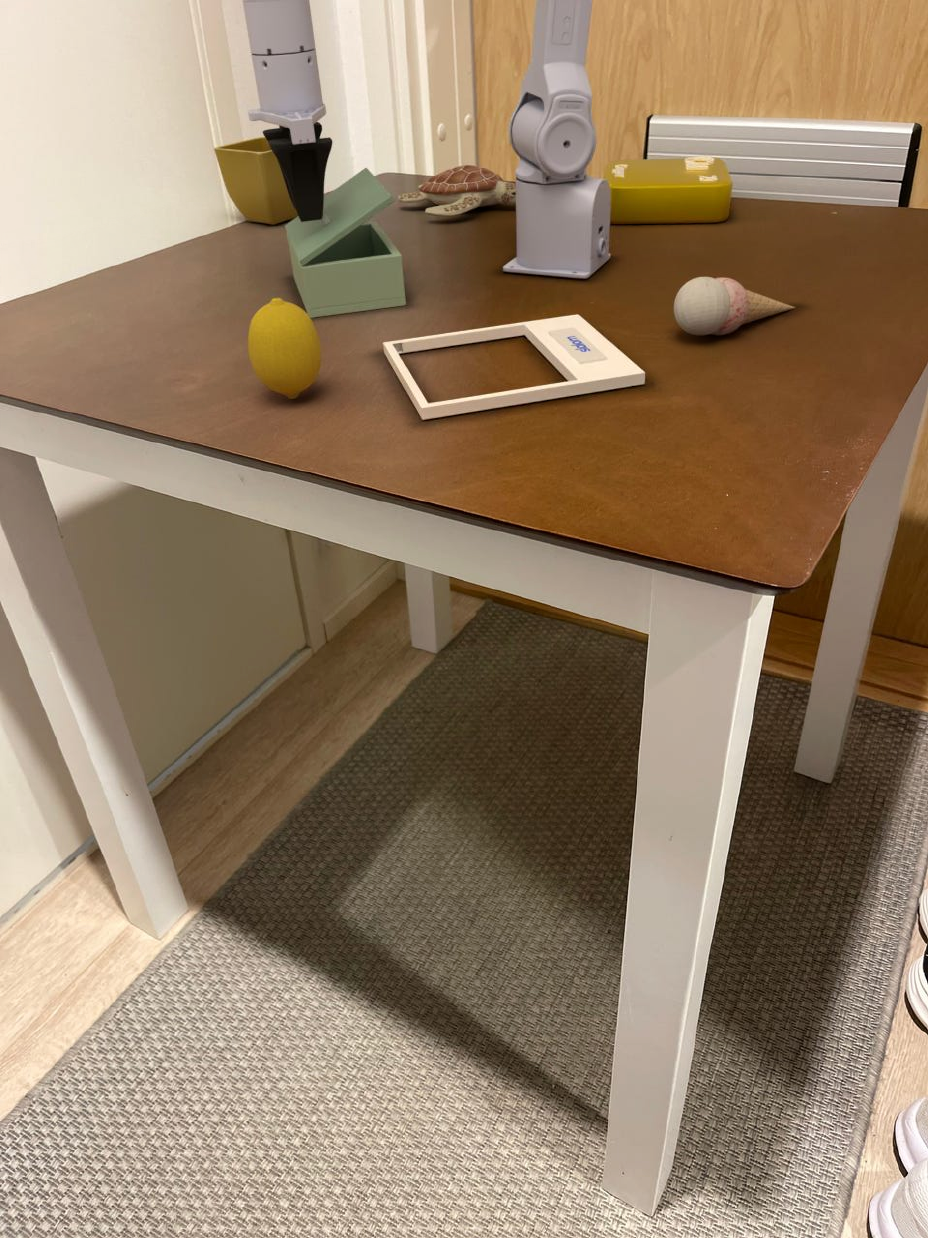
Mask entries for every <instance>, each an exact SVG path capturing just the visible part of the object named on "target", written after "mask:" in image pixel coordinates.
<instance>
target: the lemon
mask: <svg viewBox="0 0 928 1238" xmlns="http://www.w3.org/2000/svg"><path fill="white" fill-rule="evenodd" d="M248 328H249V329H248V335H247V336H248V337H247V338H248V339H247V347H248V348H247V349H248V357H249V360H250V364H251V367H252V369H253V371H254V374H255V375H256V377H257V378H258V380H259V381H260V382H261V383H262V384H263V385H264V386H265V387H267V388H268V389H270V390H271V391H273V392H275V393H278V394H283V395H284V396H285V397H287V398H288V399H291V400H293V399H297V398H298V397H299V396H300V394H301V393H302V391H305V390H307V389H308V388H309V387H311V385H312V384H313V383H314V382H315V381H316V380H317V377H318V376H319V372H320V370H321V367H322V366H321V365H322V346H321V341H320V338H319V335H318V332H317V331H318V330H317V328H316V327H315V324H314V322H313V319H312V318H310V317H309V316H308V314H307V311H306V310H304V309H303V308H301V307H300V306H298V305H296V304H295V303H292V302H288V301H284V300H283V299H282V298H281V297H274V298H272V299H271V300H270V301H269V303H266V304H265V305H263V306H262V307H261V308H259V309H258V310H257V311H256V312H255V314H254V315H253V317H252V319H251V321H250V324H249V327H248Z"/></svg>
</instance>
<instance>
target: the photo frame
mask: <svg viewBox="0 0 928 1238" xmlns="http://www.w3.org/2000/svg"><path fill="white" fill-rule="evenodd" d="M519 336H525V337H526V338H527V340H528V341H530V343H531V344H532V345H533V346H534V347H535V348H536V349H537V350H538V351H539V353H541V354H542V355H543V356H544V357H545V358H546V360H548V362H550V363H551V365H552V366H553V367H554V368H555V369H556V370H557V371H558V372H559V373H560V374H561V375H562V377H564V378H565V380H567V381H563V382H555V383H550V384H543V385H536V386H531V387H524V388H518V389H511V390H505V391H500V392H499V391H498V392H492V393H486V394H485V393H484V394H480V395H473V396H468V397H460V398H455V399H449V400H442V401H441V400H440V401H435V402H428V401H427V399H426V397H425V396H424V394H423V392H422V391H421V389H420V388H419V385H418V384H417V383H416V381H415V379H414V377H413V376H412V374H411V373H410V371H409V369H408V367H407V366H406V364H405V362H404V361H403V359H402V357H401V356H400V354H405V353H411V352H419V351H426V350H433V349H439V348H445V347H451V346H458V345H459V346H460V345H466V344H472V343H479V342H487V341H493V340H500V339H507V338H513V337H519ZM382 345H383V346H382V347H383V353H384V355H385V357H386V359H387V361H388V363H389V364H390V366H391V367H392V370H393V371H394V373H395V375H396V376H397V378H398V380H399V381H400V383H401V385H402V387H403V389H404V390H405V392H406V395H408V398H409V399H410V401H411V402H412V405H413V406H414V408H415V410H416V411H417V413H418V414H419V416H420V419H421V420H422V421H424V420H430V419H436V418H442V417H449V416H454V415H460V414H466V413H473V412H478V411H486V410H492V409H499V408H504V407H509V406H517V405H523V404H529V403H534V402H542V401H547V400H553V399H554V400H555V399H559V398H566V397H572V396H577V395H585V394H591V393H596V392H597V393H599V392H604V391H609V390H615V389H622V388H627V387H628V388H629V387H632V386H634V387H635V386H640V385H645V383H646V372H645V371H644V370H643V369H642V368H640V366H638V365H637V364H636V363H635V362H634V361H632V359H630V358H629V357H628V356H627V355H626V354H624V352H623V351H621V350H620V349H618V348H617V346H616V345H614V344H613V343H612V342H611V341H610V340H608V338H606V337H605V336H604V335H602V334H601V333H600V331H598V330H597V329H596V328H595V327H593V326H592V325H591V324H590V323H589V322H588V321H587V320H586V319H584V318H583V317H582V316H581V315H579V314H571V315H563V316H557V317H551V318H543V319H542V318H541V319H536V320H530V321H522V322H516V323H508V324H501V325H495V326H489V327H481V328H474V329H473V328H472V329H467V330H460V331H453V332H447V333H440V334H439V333H438V334H432V335H425V336H419V337H412V338H404V339H398V340H397V339H396V340H391V341H383V342H382Z"/></svg>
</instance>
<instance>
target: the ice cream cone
mask: <svg viewBox="0 0 928 1238" xmlns="http://www.w3.org/2000/svg"><path fill="white" fill-rule="evenodd" d="M673 302H674V303H673V315H674V318H675V321H676V323H677V325H678V326H679V327H680V328H681V329H682V330H683V331H684V332H686V333H688V334H690V335H694V336H707V335H712V336H725V335H728V334H731V333H733V332H734V331H736V330H738V328H740V327H741V326H742V325H744V324H748V323H752V322H755V321H758V320H760V319H764V318H766V317H769V316H770V317H771V316H775V315H777V314H780V313H784V312H787V311H790V310H793V309H796V307H795V306H792V305H790V304H786V303H784V302H781V301H778V300H775V299H773V298H770V297H767V296H764V295H763V294H759V293H756V292H754V291H751V290H748V289H746V288H745V287H744V286H743V285H742V284H741V283H740V282H738V281H737V280H735V279H733V278H730V277H716V278H713V277H711V276H699V277H695V278H691V280H689V281H687V282H685V284H684V285H682V287H680V289H679V290H678V291H677V293H676V296H675V299H674V301H673Z"/></svg>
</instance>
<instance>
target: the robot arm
mask: <svg viewBox="0 0 928 1238" xmlns="http://www.w3.org/2000/svg"><path fill="white" fill-rule="evenodd" d="M241 1H242V6H243V12H244V18H245V24H246V30H247V37H248V42H249V49H250V54H251V59H252V66H253V71H254V77H255V84H256V89H257V91H256V92H257V97H258V102H259V103H258V104H259V108H255V109H249V110H248V111H247V114H248V119H249V121H251V122H257V121H262V122H264V123H267V124H272V125H276V126H278V127H276V128H268V129H264V130H262V135H263V137H265V138H266V139H267V141H268V143H269V146H270V148H271V150H272V151H273V153H274V154H275V156H276V158H277V160H278V163H279V165H280V168H281V171H282V174H283V177H284V181H285V184H286V187H287V191H288V194H289V197H290V199H291V202H292V204H293V206H294V208H295V209H296V211H297V214H298V216H299V218H300V221H301V222H306V221H314V220H321V219H322V216H323V206H324V197H325V178H326V171H327V165H328V160H329V157H330V154H331V151H332V148H333V139H332V138H331V137H329V136H328V137H321V135H322V132H323V125H322V124H321V122H319V121H320V120H321V119H322V118H323V117H325V116H326V115H327V109H326V108H327V107H326V104H325V103H324V102H323V101H324V100H323V95H322V94H323V93H322V87H321V86H322V85H321V79H320V70H319V64H318V56H317V55H318V54H317V49H316V41H315V40H316V39H315V33H314V25H313V19H312V17H313V16H312V10H311V2H310V0H241ZM592 8H593V0H535V9H534V21H533V30H532V31H533V33H532V44H531V54H530V55H531V56H530V63H529V65H528V68H527V70H526V72H525V74H524V75H523V78H522V80H521V86H520V96H519V100H518V103H517V105H516V107H515V109H514V111H513V112H512V115H511V116H510V119H509V124H508V139H509V143H510V146H511V148H512V150H513V151H514V154H515V155H516V156H517V157H519V161H518V165H517V167H516V169H515V184H516V204H515V216H516V217H515V225H516V226H515V227H516V229H515V232H516V233H515V234H516V236H515V237H516V239H515V240H516V257H514V258H513V259H511V260H510V261H508V262H507V263H506V264H505V265H503V266H502V271H503V272H506V273H516V274H525V275H526V274H527V275H538V276H548V277H549V276H550V277H559V278H570V279H571V278H572V279H583V280H585V279H588V278H590V277H591V276H592V275H593V274H594V273H595V272H596V271H597V270H599V269H600V268H601V267H602V266H603V265H604V264H606V263H607V262H608V261H609V260H610V259H611V253H610V231H611V230H610V228H611V224H610V208H611V194H610V187H609V183H608V181H607V180H605V179H604V178H600V177H593V176H590V175H589V174H588V166H589V165H590V162H592V159H593V157H594V155H595V153H596V148H597V131H596V128H595V124H594V121H593V115H592V105H593V92H592V88H591V84H590V80H589V78H588V74H587V71H586V62H587V61H586V60H587V53H588V44H589V35H590V28H591V27H590V26H591V16H592V10H593V9H592Z"/></svg>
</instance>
